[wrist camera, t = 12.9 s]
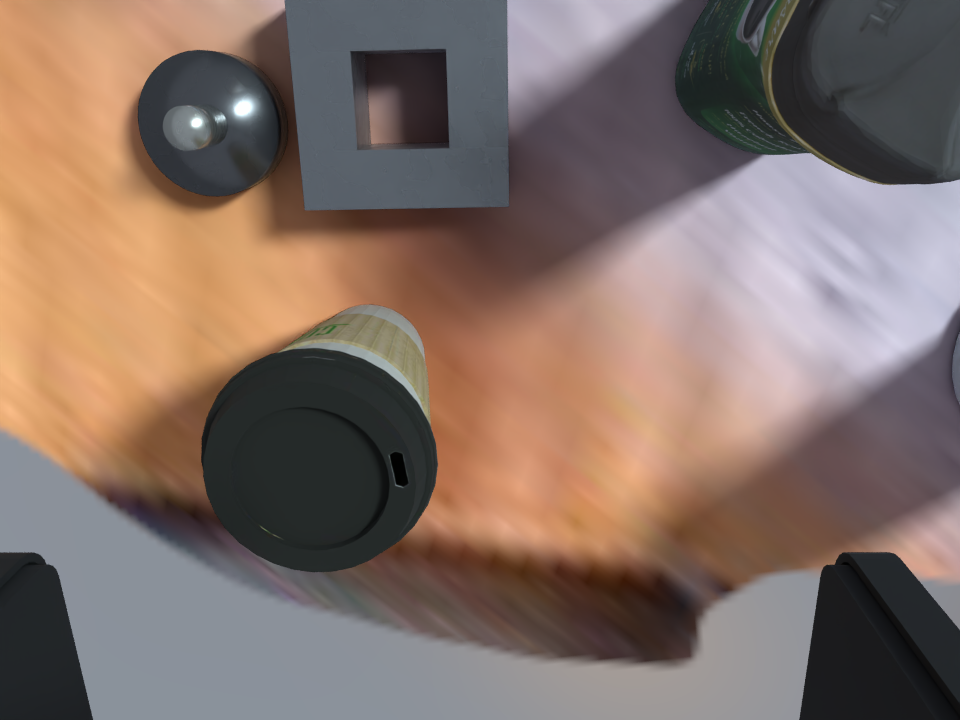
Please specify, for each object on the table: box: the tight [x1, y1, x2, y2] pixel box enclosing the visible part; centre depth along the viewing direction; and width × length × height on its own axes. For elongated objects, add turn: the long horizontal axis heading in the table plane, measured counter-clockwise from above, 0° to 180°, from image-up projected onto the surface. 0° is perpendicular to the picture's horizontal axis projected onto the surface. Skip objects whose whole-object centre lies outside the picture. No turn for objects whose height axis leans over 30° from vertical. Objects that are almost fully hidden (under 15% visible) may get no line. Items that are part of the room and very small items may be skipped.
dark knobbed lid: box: [138, 50, 288, 196], centre depth 38 cm, size 7×7×5 cm
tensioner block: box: [285, 0, 509, 210], centre depth 38 cm, size 10×10×4 cm
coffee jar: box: [675, 0, 960, 185], centre depth 30 cm, size 10×8×19 cm
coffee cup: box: [201, 305, 438, 572], centre depth 38 cm, size 10×10×15 cm
